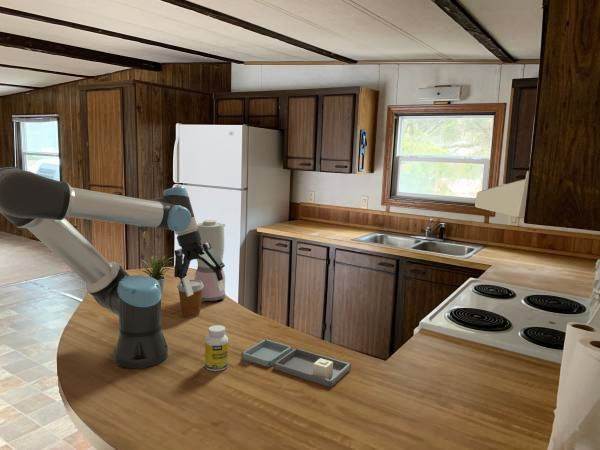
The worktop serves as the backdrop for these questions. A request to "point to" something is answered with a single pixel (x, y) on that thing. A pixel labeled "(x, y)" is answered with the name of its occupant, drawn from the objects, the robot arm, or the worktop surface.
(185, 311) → the disposable coffee cup
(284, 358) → the charcoal tray
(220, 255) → the blender
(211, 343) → the pill bottle
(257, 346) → the slate tray
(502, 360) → the worktop surface
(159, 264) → the house plant
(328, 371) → the letter cube
